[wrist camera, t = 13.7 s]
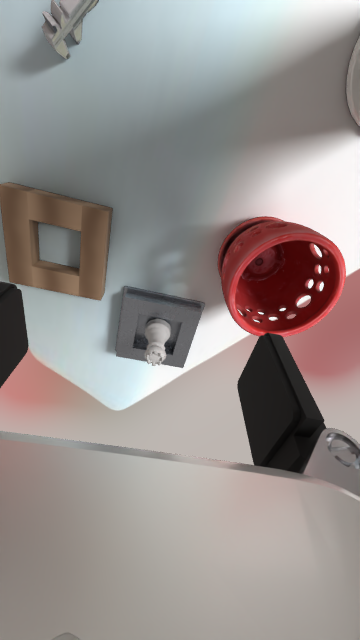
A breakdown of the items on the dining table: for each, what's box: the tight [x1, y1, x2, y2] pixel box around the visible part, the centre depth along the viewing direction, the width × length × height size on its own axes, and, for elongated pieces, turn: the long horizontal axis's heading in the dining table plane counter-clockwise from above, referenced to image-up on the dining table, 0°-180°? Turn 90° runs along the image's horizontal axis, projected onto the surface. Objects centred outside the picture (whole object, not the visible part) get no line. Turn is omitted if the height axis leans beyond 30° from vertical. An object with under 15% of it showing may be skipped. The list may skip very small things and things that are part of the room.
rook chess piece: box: [144, 319, 171, 366], centre depth 42 cm, size 4×4×8 cm
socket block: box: [0, 182, 113, 301], centre depth 37 cm, size 13×13×2 cm
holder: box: [115, 286, 205, 368], centre depth 45 cm, size 13×13×2 cm
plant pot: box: [218, 217, 346, 337], centre depth 34 cm, size 13×13×12 cm
